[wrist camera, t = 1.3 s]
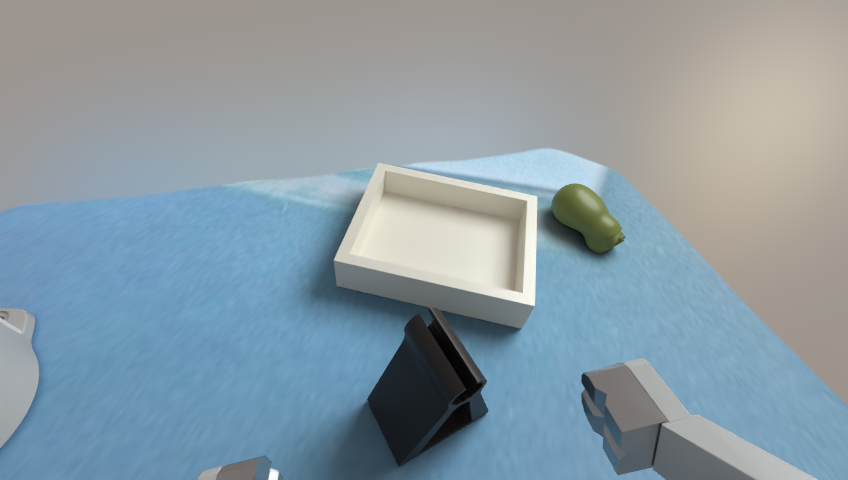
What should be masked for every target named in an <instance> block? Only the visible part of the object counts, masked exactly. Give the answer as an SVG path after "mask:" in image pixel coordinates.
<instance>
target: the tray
mask: <svg viewBox="0 0 848 480" xmlns="http://www.w3.org/2000/svg"><path fill="white" fill-rule="evenodd" d="M536 232H537V196H533V195H529V194H524V193H519V192H514V191H510V190H505V189H500V188H495V187H491V186H486V185H481V184H477V183H472V182H467V181H462V180H458V179H453V178H448V177H443V176H439V175H434V174H429V173H425V172H420V171H415V170H410V169H406V168H401V167H396V166H391V165H387V164H382V163H378V165H377V167H376V169H375V171H374V174H373V176H372V178H371V180H370V182H369V184H368V187H367V189H366V191H365V193H364V195H363V197H362V200H361V202H360V204H359V206H358V208H357V210H356V213H355V215H354V217H353V219H352V221H351V224H350V226H349V228H348V230H347V232H346V234H345V237H344V239H343V241H342V243H341V245H340V247H339V250H338V252H337V254H336V256H335V258H334V268H335V277H336V285H337V286H339V287H343V288H347V289H352V290H356V291H360V292H364V293H369V294H373V295H377V296H382V297H386V298H390V299H395V300H399V301H403V302H408V303H412V304H416V305H420V306H425V307H429V308H438V309H439V310H442V311H446V312H451V313H455V314H459V315H464V316H468V317H472V318H477V319H481V320H485V321H489V322H494V323H498V324H502V325H507V326H511V327H515V328H520V329H522V327H523V325H524V324H525V322H526V320H527V319H528V317H529V315H530V314H531V312H532V310H533V308H534V307H535V276H536Z"/></svg>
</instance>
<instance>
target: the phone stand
mask: <svg viewBox="0 0 848 480" xmlns="http://www.w3.org/2000/svg"><path fill="white" fill-rule="evenodd" d="M429 312H430V314H431V315H432V317H433V319H434V320H433V321H432V322H431V324H429V325H428V327H427V326H426V324H425V323H424V321H423V320H422V318H421V316H420V315H419V314H417V315H416V316H414V317H413V318H412V319H411V320H410V321H409V322H408V323H407V325H406V326H405V329H404V331H405V337H404V340H403V342H402V344H401V345H400V347H399V348H398V350H397V352H396V353H395V355H394V357H393V358H392V360H391V361H390V363H389V365H388V366H387V368H386V370H385V371H384V373H383V374H382V376H381V378H380V379H379V381H378V383H377V384H376V386H375V387H374V389H373V391H372V392H371V394H370V396H369V397H368V399H367V400H368V402H369V404H370V406H371V409H372V411H373V413H374V415H375V417H376V419H377V421H378V423H379V426H380V428H381V430H382V432H383V434H384V436H385V438H386V441H387V443H388V445H389V447H390V449H391V451H392V453H393V455H394V458H395V460H396V462H397V464H398V466H401V465H403V464H405V463H406V462H408V461H410V460H411V459H413V458H414V457H416V456H418V455H419V454H421V453H423V452H424V451H426V450H428V449H429V448H431V447H432V446H434V445H436V444H437V443H439V442H441V441H442V440H444V439H445V438H447V437H449V436H450V435H452V434H454V433H455V432H457V431H458V430H460V429H462V428H463V427H465V426H467V425H468V424H470V423H472V422H473V421H475V420H476V419H478V418H480V417H481V416H483V415H485V414H486V413H487V412H488V409H487V407H486V404H485V402H484V400H483V398H482V395H481V390H482V388H483V387H484V385H485V384H486V382H487V380H486V379H485V377H484V376H483V374H482V373H481V371H480V370H479V368H478V367H477V365H476V364H475V362H474V361H473V359H472V358H471V356H470V355H469V353H468V352H467V350H466V349H465V347H464V346H463V344H462V343H461V341H460V340H459V338H458V337H457V335H456V334H455V332H454V331H453V329H452V328H451V326H450V325H449V323H448V322H447V320H446V319H445V317H444V316H443V314H442V313H441V311H440V310H439V309H438V308H430V309H429Z"/></svg>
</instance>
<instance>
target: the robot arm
mask: <svg viewBox="0 0 848 480" xmlns="http://www.w3.org/2000/svg"><path fill="white" fill-rule="evenodd" d="M34 326H35V318H34V316H33V315H32V314H30V313H28V312H26V311H25V310H22V309H10V308H0V448H1V447H2V446H3V445H4V444H5V442H6V441H7V440H8V439H9V438H10V436H11V435H12V434H13V433H14V431H15V430H16V429H17V427H18V426H19V425H20V423H21V421H22V420H23V418H24V417H25V415H26V413H27V412H28V410H29V408H30V406H31V404H32V401H33V399H34V396H35V393H36V390H37V386H38V381H39V365H38V361H37V358H36V355H35V353H34V351H33V348H32V345H31V339H32V335H33V331H34ZM582 384H583V386H584V387H585V390H584V391H583V392H582V393H581V394H582V404H583V408H584V412H585V414H586V417H587V419H588V421H589V423H590V425H591V427H592V429H593V431H595V432H596V433H598V434H599V435H601V436H602V437H603V449H604V451H605V453H606V455H607V457H608V459H609V460H610V462H611V464H612V466H613V468H614V470H615V471H616V473H617V475H621V474H625V473H629V472H634V471H638V470H643V469H647V468H651V467H653V470H654V471H656V472H657V473H658V474H660V475H661V476H662V477H664V478H665V479H666V480H818V479H816V478H814V477H812V476H810V475H808V474H806V473H805V472H803V471H801V470H799V469H797V468H795V467H793V466H792V465H790V464H788V463H786V462H784V461H782V460H781V459H779V458H777V457H775V456H773V455H771V454H769V453H768V452H766V451H764V450H762V449H760V448H758V447H756V446H755V445H753V444H751V443H749V442H747V441H745V440H744V439H742V438H740V437H738V436H736V435H734V434H732V433H731V432H729V431H727V430H725V429H723V428H721V427H719V426H718V425H716V424H714V423H712V422H710V421H708V420H706V419H705V418H703V417H701V416H699V415H692V416H691V415H690V414H689V413H688V412H687V410H686V409H685V408H684V406H683V405H682V404H681V403H680V401H679V400H678V399H677V398H676V396H675V395H674V394H673V393H672V391H671V390H670V389H669V388H668V386H667V385H666V384H665V383H664V381H663V380H662V379H661V378H660V376H659V375H658V374H657V373H656V371H655V370H654V369H653V368H652V366H651V365H650V364H649V363H648V361H646V360H645V359H643V358H638V359H634V360H631V361H627V362H624V363H618V364H614V365H610V366H607V367H603V368H600V369H596V370H592V371H589V372H585V373H583V375H582ZM271 463H272V462H271V461H270V460H269V459H268V458H267V456H266V455H265V456H261V457H257V458H253V459H249V460H245V461H241V462H237V463H233V464H229V465H224V466H220V467H216V468H213V469H209V470H205V471H203V472H202V473H201V475H200V476H199V477H198V479H197V480H284V478H283V476H282V475H281V473H280V472H279V471H276V470H273V469H270V468H271Z"/></svg>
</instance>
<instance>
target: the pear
mask: <svg viewBox="0 0 848 480" xmlns="http://www.w3.org/2000/svg"><path fill="white" fill-rule="evenodd" d="M551 207H552V212H553V214H554V216H555V217H556V219H557V220H558V221H560V222H561V223H562V224H564V225H566V226H568V227H570V228H573V229H576V230H578V231H579V232H581V233H582V234H583V235H584V237H585V241H586V244H587V246H588V247H589V248H590V249H591V250H593V251H595V252H596V253H604V252H605V251H609V250H611V249H612V248H613V247H614V246H616V245H618V243H621V242H623V241H624V238H625V235H623V233H622V232H621V229H622V228H621V226H620V224H619V223H618V221H617V220H616V219H615V218H613V217H612V216H611V215H610V214H609V212H608V210H607V208H606V206H605V204H604V202H603V201H602V199H601V198H600V197H599V196H598V195H597V194H596V193H595V192H593V191H592V190H591V189H589V188H588V187H586V186H584V185H581V184H569V185H566V186H564V187H563V188H561V189H560V190H559V191H558V192H557V193H556V194H555V196H554V198H553V200H552V205H551Z"/></svg>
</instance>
